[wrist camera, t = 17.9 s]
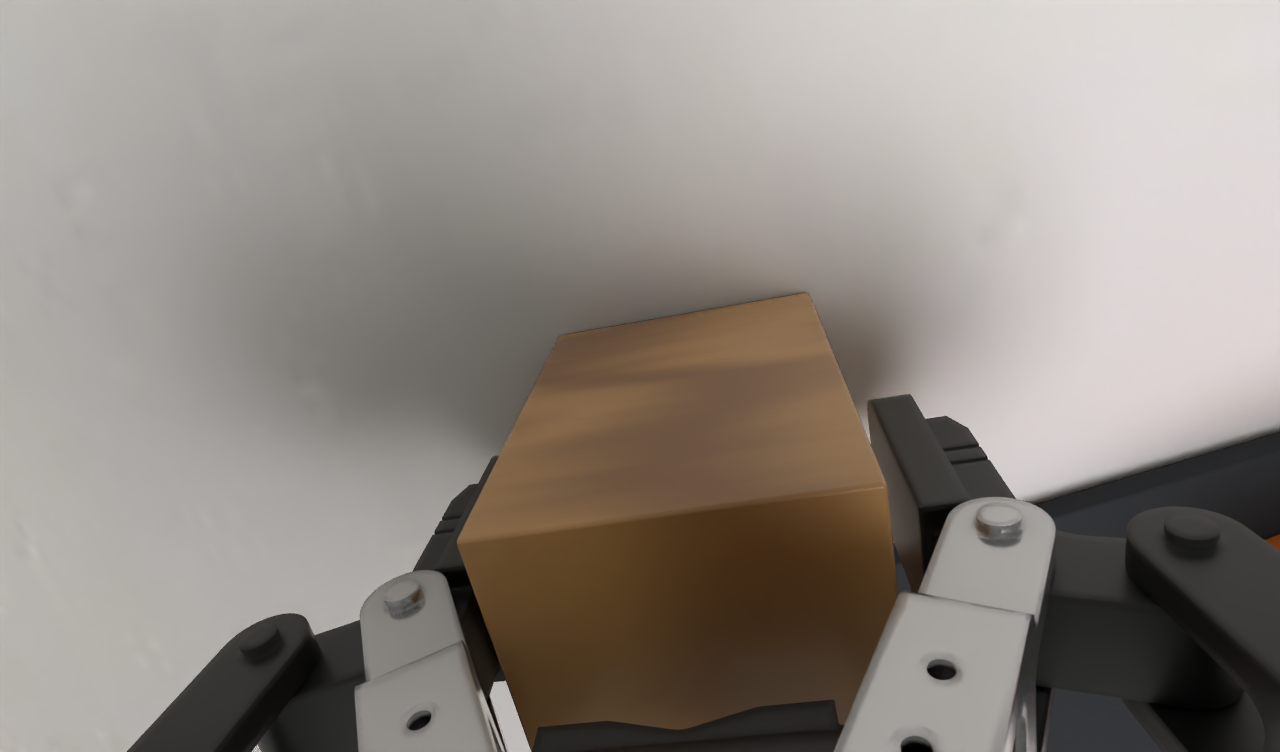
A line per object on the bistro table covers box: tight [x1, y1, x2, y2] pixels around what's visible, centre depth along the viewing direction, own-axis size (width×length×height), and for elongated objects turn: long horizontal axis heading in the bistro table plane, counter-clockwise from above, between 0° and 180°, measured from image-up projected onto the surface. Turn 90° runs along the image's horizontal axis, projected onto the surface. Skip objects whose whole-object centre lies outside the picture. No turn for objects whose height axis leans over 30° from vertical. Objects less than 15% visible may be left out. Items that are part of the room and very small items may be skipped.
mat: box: [894, 432, 1280, 752], centre depth 17 cm, size 20×8×1 cm, turn 114°
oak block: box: [457, 293, 898, 752], centre depth 13 cm, size 5×5×7 cm
